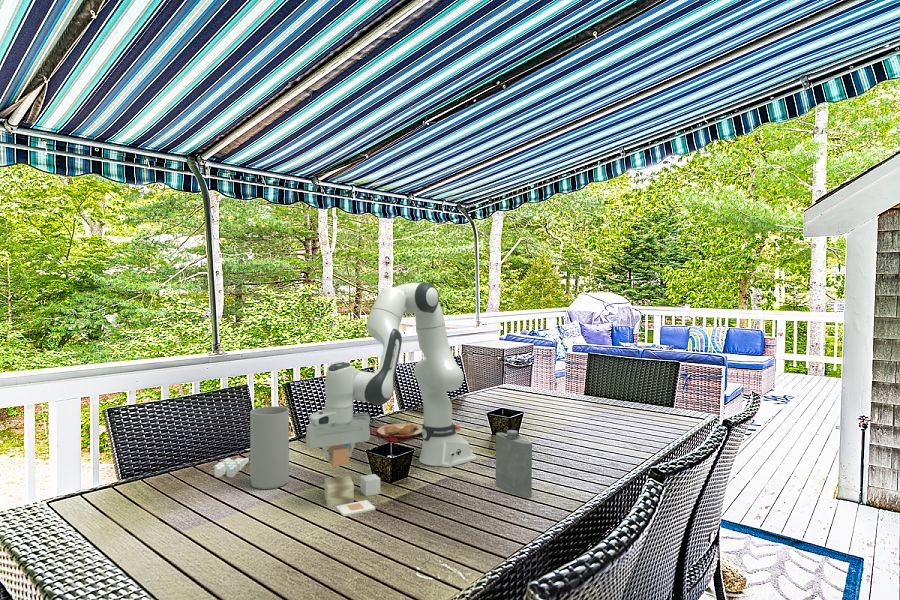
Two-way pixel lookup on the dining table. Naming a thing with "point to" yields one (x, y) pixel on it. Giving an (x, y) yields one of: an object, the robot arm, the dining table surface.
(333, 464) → the terracotta cube
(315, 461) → the dining table surface
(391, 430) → the plate with food
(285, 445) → the cylinder vase
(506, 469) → the hip flask
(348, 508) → the card
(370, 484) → the grey cube
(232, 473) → the modular blocks
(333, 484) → the birch block
